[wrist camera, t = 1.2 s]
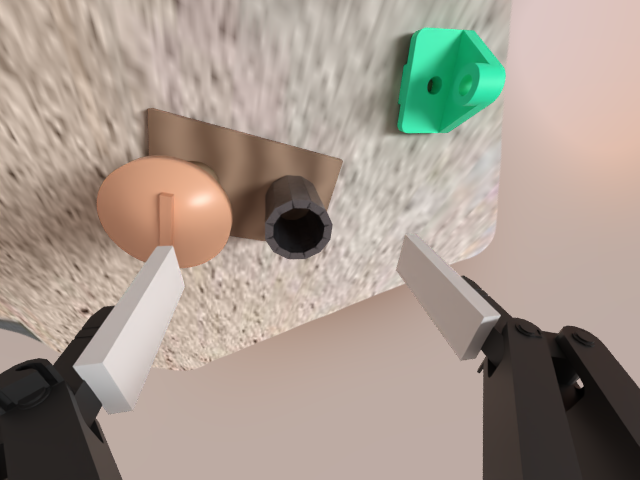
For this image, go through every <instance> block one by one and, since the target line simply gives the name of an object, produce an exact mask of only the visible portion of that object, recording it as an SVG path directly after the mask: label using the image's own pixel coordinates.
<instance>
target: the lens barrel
mask: <svg viewBox="0 0 640 480" xmlns="http://www.w3.org/2000/svg"><path fill="white" fill-rule="evenodd" d="M293 208H308V209H310V210H309V211H308V213H307V214H306V215H305V216H303V217H301V218H299V219H297V220H286V219H284V218H282V217H281V216H280V215H281V214H283V213H285V212H287V211H289V210H291V209H293ZM332 225H333V224H332V222H331V220H330V218H329V216H328V214H327V211H326V209H325V207H324V205H323V203H322V201H321V199H320V197H319V195H318V193H317V191H316V189H315V187H314V184H313V183H311V182H310V181H308V180H307V179H305V178H304V177H302V176H293V175H287V176H284V177H282V178H280V179H278V180H276V181H274V182H273V183H272V184H271V186H270V187H269V189H268V191H267V192H266V195H265V240H266V241H267V243H268V244H269V246H270V247H271V249H272V250H273V252H275V253H277V254H279V255H281V256H283V257H285V258H287V259H306V258H308V257H311V256H313V255H315V254H317V253H319V252H321V250H322V249H323V248H324V247H325V245H326V244H327V243H328V242H329V240H330V238H331V231H332Z"/></svg>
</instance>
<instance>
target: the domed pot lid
mask: <svg viewBox="0 0 640 480" xmlns="http://www.w3.org/2000/svg"><path fill="white" fill-rule="evenodd" d="M97 212H98V216H99V219H100V222H101V224H102V226H103V228H104V230H105V231H106V233H107V234H108V235H109V237H110V238H111V239H112V240H113V241H114V242H115V243H116V244H117V245H118V246H119V247H120V248H121V249H122V250H124V251H125V252H127V253H128V254H130V255H131V256H133V257H135V258H137V259H139V260H141V261H143V262H146V261H147V260H148V258H149V257H150V255H151V254H152V253H153V251H154V250H155V248H156V247H157V246H173V247H174V251H175V254H176V258H177V261H178V265H179V268H188V267H193V266H197V265H200V264H203V263H205V262H207V261H209V260H211V259H212V258H214V257H215V256H216V255H217V254H218V253H220V251H221V250H222V249H223V248H224V246H225V244H226V243H227V240H228V238H229V234H230V231H231V226H232V220H233V214H232V207H231V203H230V201H229V198H228V196H227V194H226V192H225V190H224V189H223V188H222V186H221V185H220V184H219V183H218V182H217V180H216V179H215V178H214V177H212V176H211V175H210V174H209V173H208V172H206V171H205V170H203V169H202V168H201V167H199V166H197V165H195V164H193V163H191V162H188V161H186V160H183V159H180V158H176V157H171V156H160V155H155V156H146V157H142V158H138V159H136V160H133V161H131V162H129V163H127V164H125V165H123V166H122V167H120V168H118V169H116V170H115V171H113V172H112V173H111V174H110V175H108V177H107V178H106V179H105V180H104V181H103V183H102V185H101V187H100V189H99V192H98V196H97Z"/></svg>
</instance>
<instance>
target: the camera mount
mask: <svg viewBox="0 0 640 480" xmlns="http://www.w3.org/2000/svg"><path fill="white" fill-rule="evenodd" d="M505 77H506V74H505V69H504V67H503V66H502V65H501V63H500V62H499V61H498V60H497V58H496V57H495V56H494V55H493V53H492V52H491V51H490V50H489V48H488V47H487V46H486V45H485V43H484V42H483V41H482V40H481V38H480V37H479V36H478V35H477V34H476V32H475V31H472V30H456V29H440V28H423V29H421V30H418V31H416V32H415V33H414V34H413V36H412V38H411V42H410V49H409V55H408V61H407V64H406V65H404V68H403V74H402V81H401V87H400V94H399V100H398V104H401V105H400V112H399V118H398V124H397V126H398V129H399V130H400V131H402V132H405V133H448V132H450V131H451V130H453V129H454V128H456V127H457V126H459V125H460V124H462V123H463V122H465V121H466V120H468V119H469V118H471V117H472V116H474V115H475V114H476V113H478V112H479V111H481V110H482V109H484V108H485V107H487V106H488V105H490V104H491V103H493V102H494V101H495V100H496V99H497V97H498V96H499V95H500V93H501V91H502V89H503V86H504V83H505ZM430 79H431V80H432V83H433V84H432V88H431V90H430V92H428V90H427V86H428V83H429V81H430Z"/></svg>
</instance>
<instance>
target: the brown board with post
mask: <svg viewBox="0 0 640 480" xmlns="http://www.w3.org/2000/svg"><path fill="white" fill-rule="evenodd" d="M147 111H148V145H149V156H155V155H160V156H171V157H176V158H180V159H183V160H186V161H188V162H191V163H193V164H195V165H197V166H199V167H201V168H202V169H203V170H205V171H206V172H208V173H209V174H210V175H211V176H212V177H214V178H215V179H216V180H217V182H218V183H219V184H220V185H221V186H222V188H223V189H224V190H225V192H226V194H227V196H228V198H229V201H230V203H231V207H232V214H233V220H232V226H231V231H230V234H229V236H235V237H242V238H248V239H255V240H261V241H266V240H265V195H266V192H267V191H268V189H269V187H270V186H271V184H272V183H273V182H274V181H276V180H278V179H280V178H282V177H284V176H287V175H293V176H302V177H304V178H305V179H307V180H308V181H310V182H311V183H313V184H314V187H315V189H316V191H317V193H318V195H319V197H320V199H321V201H322V203H323V205H324V207H325V209H326V211H327V209H328V206H329V203H330V200H331V196H332V193H333V190H334V187H335V184H336V181H337V178H338V175H339V172H340V169H341V166H342V163H343V161H342V160H341V159H339V158H335V157H331V156H328V155H324V154H320V153H317V152H313V151H309V150H306V149H302V148H298V147H294V146H291V145H287V144H283V143H280V142H276V141H272V140H269V139H265V138H261V137H258V136H254V135H250V134H247V133H243V132H239V131H235V130H232V129H228V128H224V127H221V126H217V125H213V124H210V123H206V122H202V121H199V120H195V119H191V118H187V117H184V116H180V115H176V114H173V113H169V112H165V111H162V110H158V109H154V108H149V109H147ZM309 210H310V209H308V208H293V209H291V210H289V211H287V212H285V213H283V214H281V215H280V216H281V217H282V218H284V219H286V220H297V219H299V218H301V217H303V216H305V215H306V214H307V213H308V211H309Z"/></svg>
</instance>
